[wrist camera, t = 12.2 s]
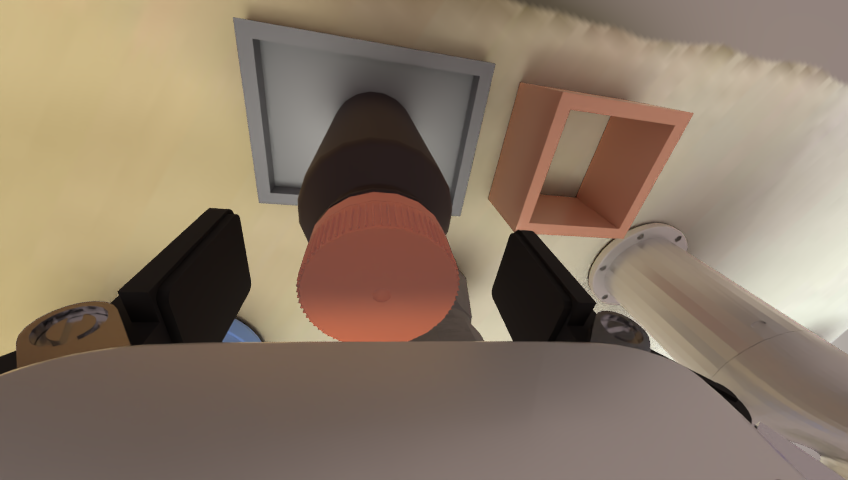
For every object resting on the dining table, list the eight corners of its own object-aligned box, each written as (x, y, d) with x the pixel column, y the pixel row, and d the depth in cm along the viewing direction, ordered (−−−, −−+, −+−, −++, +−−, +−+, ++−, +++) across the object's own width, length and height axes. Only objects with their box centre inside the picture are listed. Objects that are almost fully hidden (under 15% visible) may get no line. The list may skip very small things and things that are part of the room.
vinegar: (325, 92, 24) (220, 201, 7) (412, 89, 24) (503, 181, 8) (339, 175, 27) (292, 378, 11) (415, 170, 28) (480, 352, 11)
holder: (627, 100, 29) (693, 113, 23) (580, 206, 34) (623, 238, 28) (520, 82, 26) (563, 91, 21) (488, 198, 32) (514, 232, 26)
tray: (485, 62, 25) (495, 63, 23) (454, 205, 32) (460, 216, 30) (246, 20, 22) (233, 17, 19) (267, 191, 28) (259, 202, 26)
